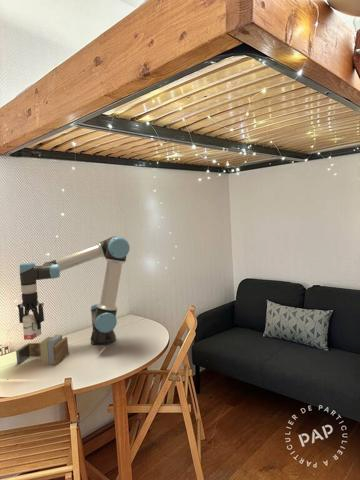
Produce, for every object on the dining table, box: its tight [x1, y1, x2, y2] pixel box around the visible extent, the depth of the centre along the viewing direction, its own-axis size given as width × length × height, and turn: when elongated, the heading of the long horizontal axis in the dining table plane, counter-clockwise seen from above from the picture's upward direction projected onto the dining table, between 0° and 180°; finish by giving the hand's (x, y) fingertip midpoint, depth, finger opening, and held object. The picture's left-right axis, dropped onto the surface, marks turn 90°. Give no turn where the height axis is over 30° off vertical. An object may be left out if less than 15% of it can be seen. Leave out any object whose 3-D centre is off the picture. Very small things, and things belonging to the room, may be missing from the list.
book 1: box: [39, 336, 53, 365], centre depth 175 cm, size 4×8×11 cm, turn 173°
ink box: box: [22, 312, 42, 341], centre depth 175 cm, size 9×5×12 cm, turn 169°
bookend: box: [15, 343, 31, 365], centre depth 177 cm, size 2×9×7 cm, turn 173°
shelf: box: [27, 336, 70, 366], centre depth 176 cm, size 23×13×11 cm, turn 83°
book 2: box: [47, 334, 63, 365], centre depth 174 cm, size 4×9×12 cm, turn 173°
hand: (33, 335), depth 175 cm, fingers closed on ink box, 5 cm apart
